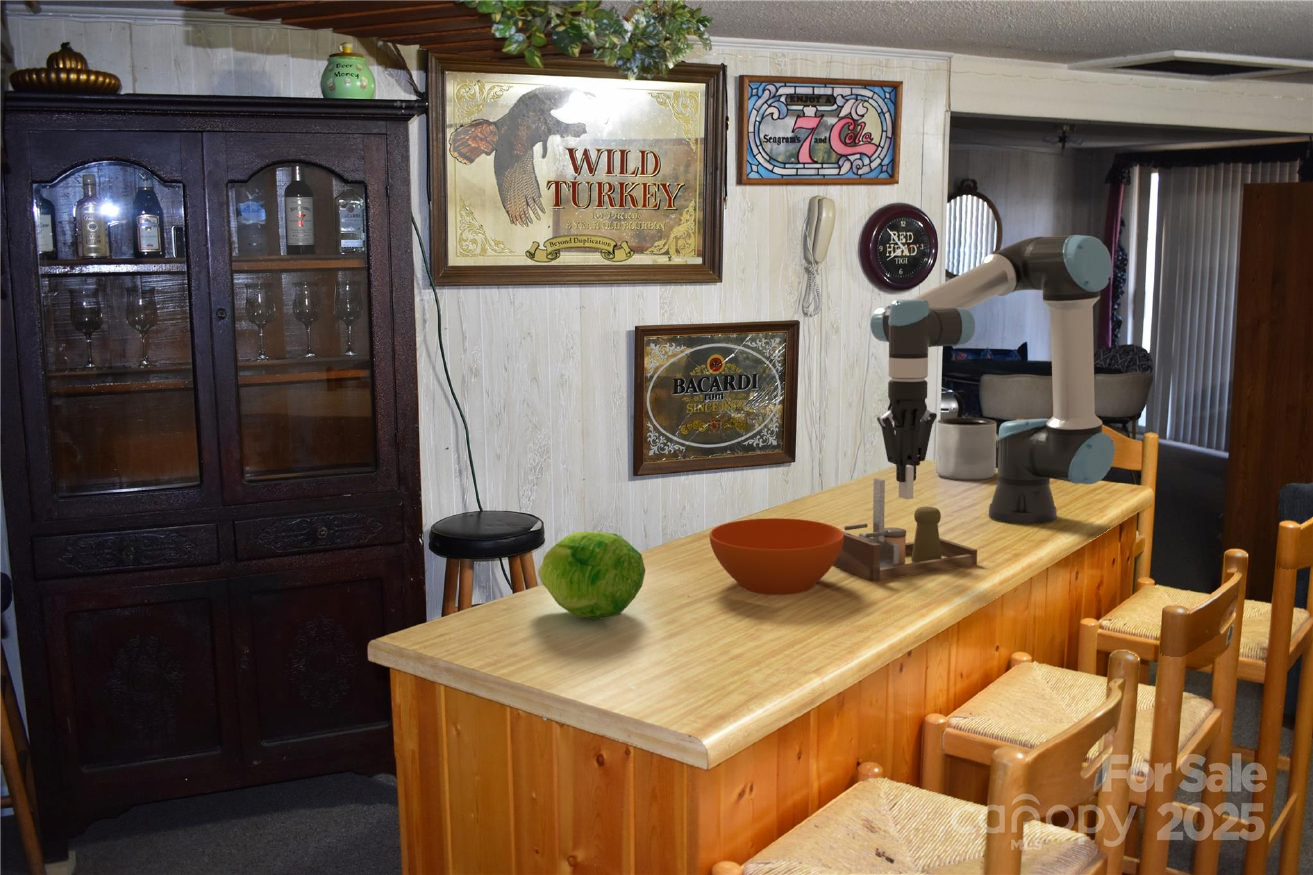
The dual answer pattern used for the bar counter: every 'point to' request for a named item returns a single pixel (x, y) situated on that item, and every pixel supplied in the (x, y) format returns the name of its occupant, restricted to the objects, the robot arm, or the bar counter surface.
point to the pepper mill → (926, 535)
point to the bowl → (776, 553)
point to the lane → (866, 563)
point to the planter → (966, 448)
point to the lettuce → (593, 574)
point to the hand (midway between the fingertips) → (905, 497)
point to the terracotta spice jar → (897, 541)
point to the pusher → (882, 527)
